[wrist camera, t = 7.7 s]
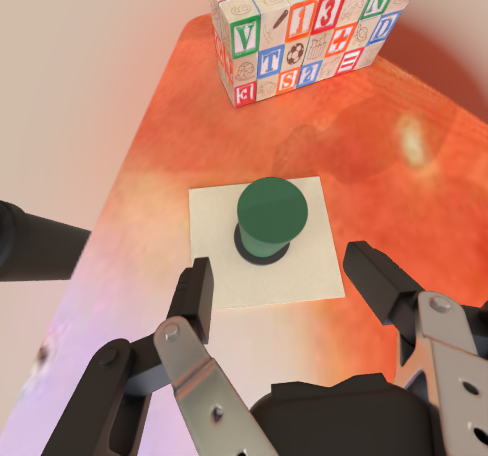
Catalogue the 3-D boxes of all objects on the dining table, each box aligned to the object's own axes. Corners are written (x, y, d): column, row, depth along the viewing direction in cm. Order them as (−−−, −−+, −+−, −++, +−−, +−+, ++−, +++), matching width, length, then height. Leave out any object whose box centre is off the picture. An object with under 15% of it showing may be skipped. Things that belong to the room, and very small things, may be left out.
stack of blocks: (234, 111, 26) (223, -30, 14) (219, 78, 27) (197, -75, 15) (372, 64, 27) (468, -98, 15) (350, 36, 29) (423, -133, 17)
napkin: (193, 312, 20) (192, 312, 20) (189, 190, 23) (188, 189, 23) (344, 296, 20) (345, 296, 20) (318, 177, 23) (319, 176, 23)
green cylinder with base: (237, 268, 21) (227, 263, 11) (232, 216, 22) (220, 170, 12) (291, 263, 21) (331, 252, 11) (283, 211, 22) (311, 161, 12)
